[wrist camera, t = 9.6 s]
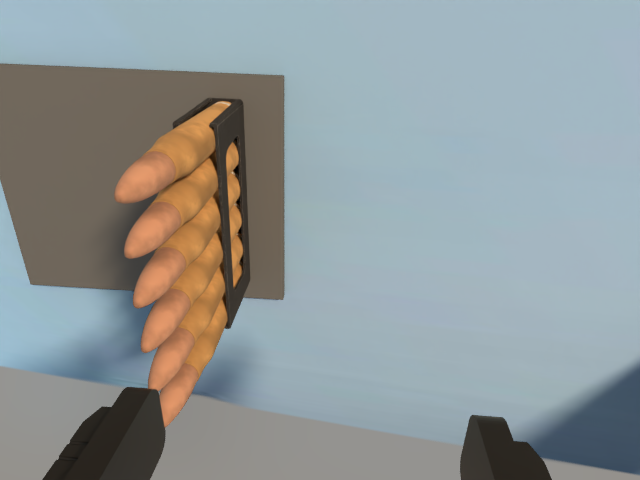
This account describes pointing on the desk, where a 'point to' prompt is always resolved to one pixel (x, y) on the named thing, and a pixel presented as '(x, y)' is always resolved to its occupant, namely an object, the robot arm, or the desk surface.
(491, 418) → the robot arm
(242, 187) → the ammunition clip
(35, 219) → the mat
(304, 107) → the desk surface
